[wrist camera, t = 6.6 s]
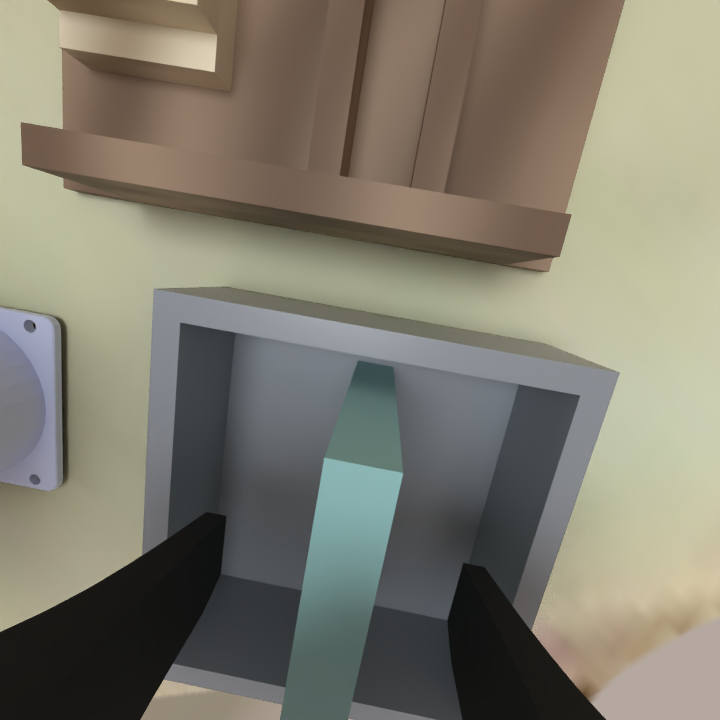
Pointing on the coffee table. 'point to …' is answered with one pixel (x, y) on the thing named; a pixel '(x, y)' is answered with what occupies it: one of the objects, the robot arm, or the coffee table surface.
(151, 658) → the robot arm
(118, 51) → the offcut lower
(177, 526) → the tote
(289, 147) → the rack
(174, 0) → the offcut upper
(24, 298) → the coffee table surface
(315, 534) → the sheet
